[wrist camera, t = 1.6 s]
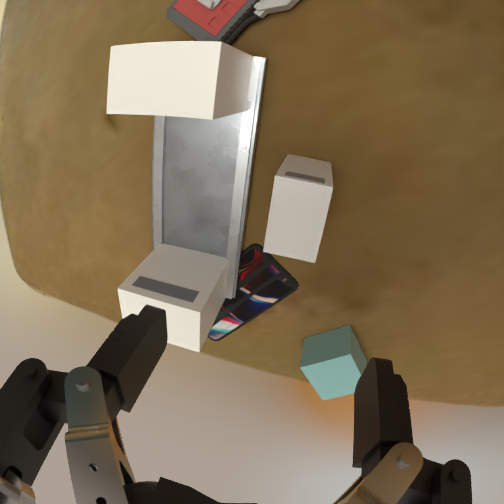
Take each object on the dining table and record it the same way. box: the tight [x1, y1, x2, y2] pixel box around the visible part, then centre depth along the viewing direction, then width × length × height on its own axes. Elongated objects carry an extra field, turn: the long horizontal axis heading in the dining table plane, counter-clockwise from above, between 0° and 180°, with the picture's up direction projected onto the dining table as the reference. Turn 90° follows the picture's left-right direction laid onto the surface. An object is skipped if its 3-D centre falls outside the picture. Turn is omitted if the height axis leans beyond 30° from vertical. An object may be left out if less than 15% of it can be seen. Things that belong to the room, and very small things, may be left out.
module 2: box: [118, 243, 229, 352], centre depth 31 cm, size 8×5×9 cm, turn 83°
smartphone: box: [208, 244, 298, 341], centre depth 37 cm, size 7×1×15 cm
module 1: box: [107, 41, 253, 120], centre depth 21 cm, size 8×5×9 cm, turn 83°
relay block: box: [300, 325, 367, 400], centre depth 36 cm, size 5×6×7 cm
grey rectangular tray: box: [152, 57, 268, 299], centre depth 30 cm, size 10×25×2 cm, turn 173°
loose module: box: [263, 154, 333, 263], centre depth 26 cm, size 4×6×8 cm
